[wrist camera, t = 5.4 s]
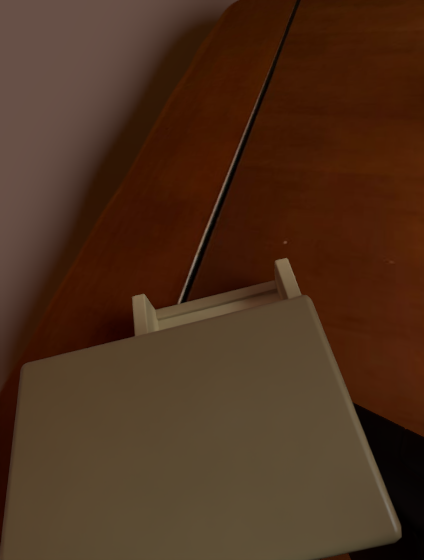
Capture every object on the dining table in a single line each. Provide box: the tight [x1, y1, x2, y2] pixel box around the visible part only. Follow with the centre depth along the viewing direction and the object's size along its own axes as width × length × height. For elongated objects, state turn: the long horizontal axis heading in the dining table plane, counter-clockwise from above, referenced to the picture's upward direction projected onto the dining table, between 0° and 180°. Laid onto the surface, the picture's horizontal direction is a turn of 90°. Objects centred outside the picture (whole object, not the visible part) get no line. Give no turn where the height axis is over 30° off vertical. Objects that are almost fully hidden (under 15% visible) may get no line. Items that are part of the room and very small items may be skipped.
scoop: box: [0, 258, 402, 560], centre depth 10 cm, size 10×7×13 cm
